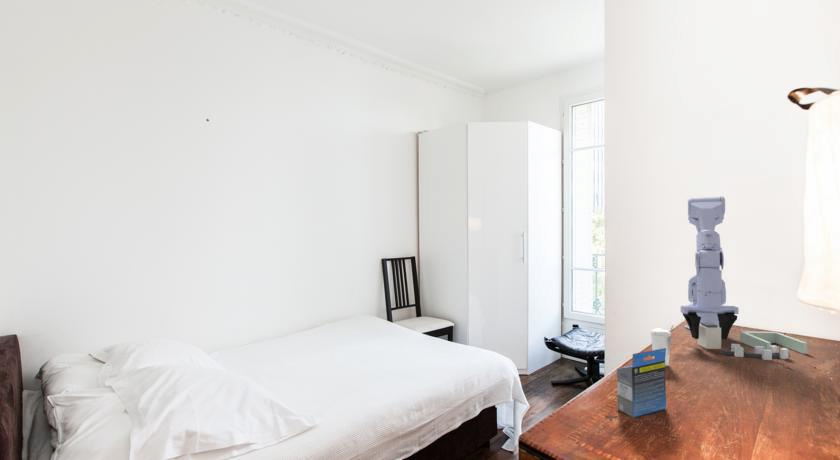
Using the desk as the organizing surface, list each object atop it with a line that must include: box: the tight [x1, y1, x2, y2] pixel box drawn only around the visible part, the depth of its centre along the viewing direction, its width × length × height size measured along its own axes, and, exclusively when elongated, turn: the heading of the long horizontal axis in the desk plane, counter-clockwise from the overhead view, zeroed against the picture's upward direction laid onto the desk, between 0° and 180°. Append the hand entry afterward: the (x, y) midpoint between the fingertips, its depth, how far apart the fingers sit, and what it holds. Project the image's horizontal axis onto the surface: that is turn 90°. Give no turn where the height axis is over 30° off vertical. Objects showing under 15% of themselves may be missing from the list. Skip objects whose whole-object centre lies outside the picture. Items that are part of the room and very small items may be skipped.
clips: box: [730, 343, 789, 361], centre depth 105 cm, size 6×12×2 cm, turn 84°
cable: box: [719, 349, 790, 359], centre depth 105 cm, size 4×17×1 cm, turn 84°
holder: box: [739, 331, 808, 355], centre depth 111 cm, size 10×10×3 cm
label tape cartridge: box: [616, 348, 667, 418], centre depth 77 cm, size 9×4×12 cm, turn 110°
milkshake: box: [650, 325, 674, 367], centre depth 100 cm, size 4×5×10 cm
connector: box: [697, 323, 722, 350], centre depth 113 cm, size 4×4×7 cm
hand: (709, 338), depth 113 cm, fingers open, 7 cm apart
